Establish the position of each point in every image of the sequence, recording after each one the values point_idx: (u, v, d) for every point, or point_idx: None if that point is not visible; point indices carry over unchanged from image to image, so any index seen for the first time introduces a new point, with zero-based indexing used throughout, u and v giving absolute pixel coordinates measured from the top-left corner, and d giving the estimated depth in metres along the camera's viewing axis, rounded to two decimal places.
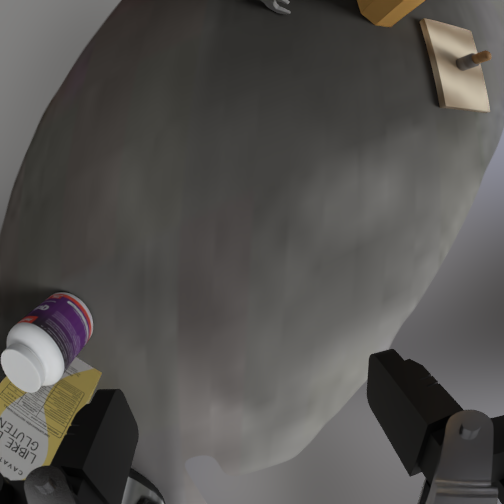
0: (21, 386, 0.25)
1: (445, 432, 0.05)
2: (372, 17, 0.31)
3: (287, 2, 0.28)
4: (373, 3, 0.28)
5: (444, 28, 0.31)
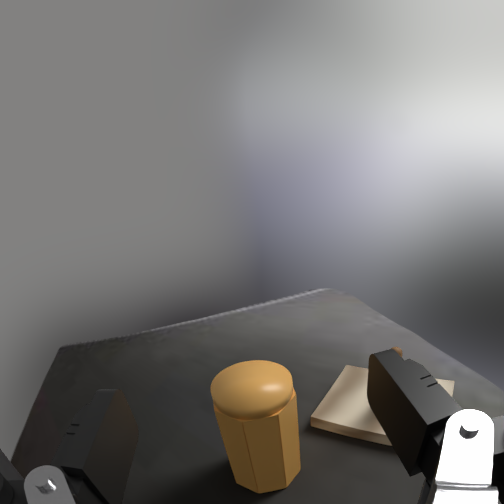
0: None
1: (445, 432, 0.05)
2: (274, 484, 0.22)
3: None
4: (256, 471, 0.21)
5: (334, 397, 0.31)
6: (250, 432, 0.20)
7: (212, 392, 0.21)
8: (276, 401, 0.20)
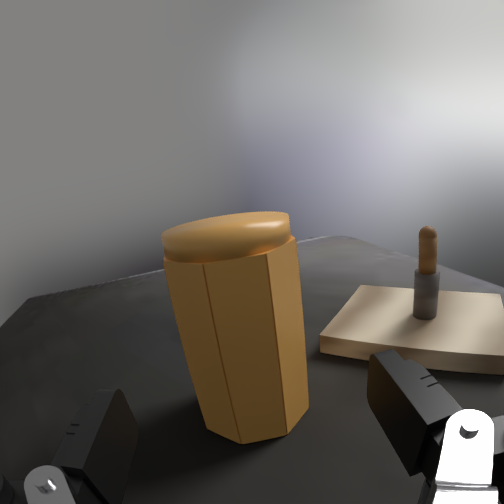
0: None
1: (445, 432, 0.05)
2: (267, 424, 0.14)
3: None
4: (235, 391, 0.14)
5: (349, 314, 0.24)
6: (218, 292, 0.13)
7: (163, 234, 0.14)
8: (262, 226, 0.13)
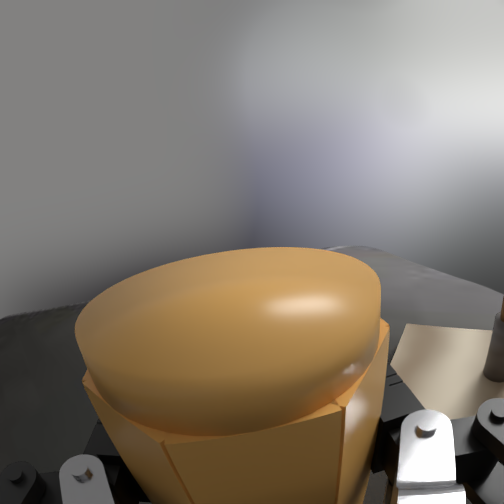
0: None
1: (400, 430, 0.06)
2: None
3: None
4: None
5: (402, 376, 0.16)
6: (212, 488, 0.04)
7: (82, 314, 0.06)
8: (339, 335, 0.04)
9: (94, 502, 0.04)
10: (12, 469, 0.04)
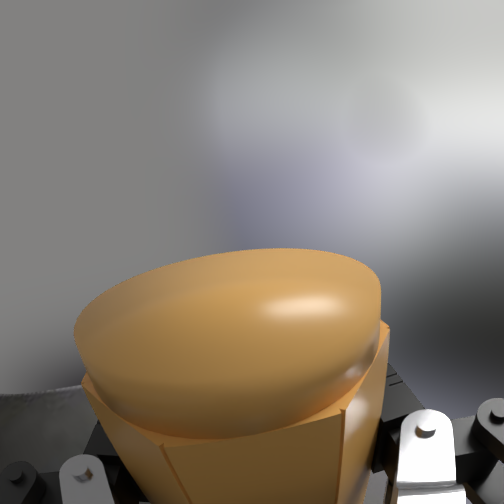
0: None
1: (400, 430, 0.06)
2: None
3: None
4: None
5: None
6: (211, 491, 0.04)
7: (81, 316, 0.06)
8: (339, 338, 0.04)
9: (94, 502, 0.04)
10: (12, 469, 0.04)
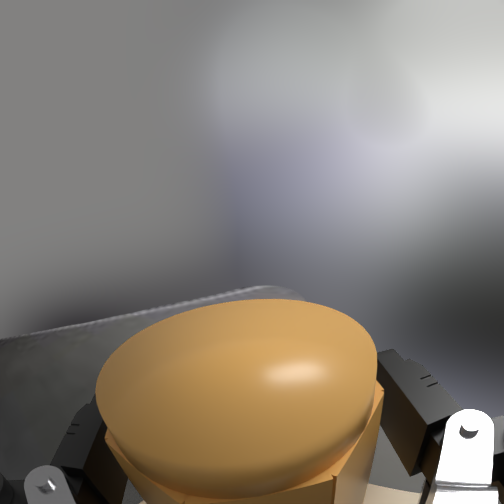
0: None
1: (445, 432, 0.05)
2: None
3: None
4: None
5: None
6: None
7: (100, 379, 0.06)
8: (334, 426, 0.04)
9: None
10: None
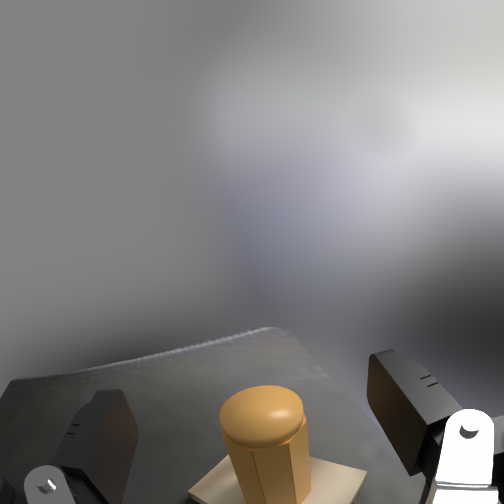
0: None
1: (445, 432, 0.05)
2: None
3: None
4: (267, 494, 0.19)
5: (219, 474, 0.26)
6: (260, 460, 0.18)
7: (221, 420, 0.20)
8: (286, 430, 0.18)
9: None
10: None
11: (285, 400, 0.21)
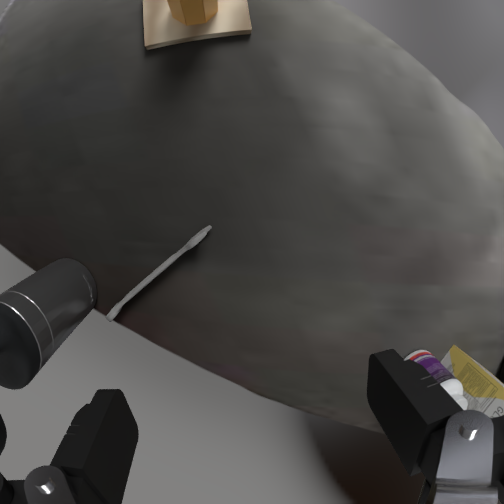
0: None
1: (445, 432, 0.05)
2: (213, 12, 0.32)
3: (205, 234, 0.38)
4: (205, 8, 0.29)
5: (151, 22, 0.32)
6: None
7: None
8: None
9: None
10: None
11: None
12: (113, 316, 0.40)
